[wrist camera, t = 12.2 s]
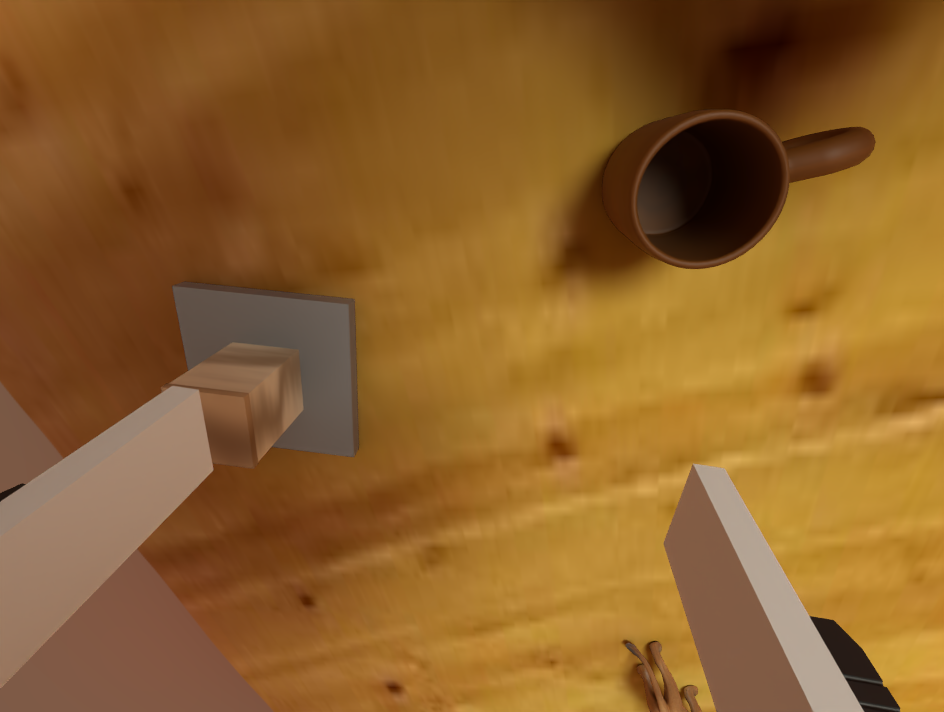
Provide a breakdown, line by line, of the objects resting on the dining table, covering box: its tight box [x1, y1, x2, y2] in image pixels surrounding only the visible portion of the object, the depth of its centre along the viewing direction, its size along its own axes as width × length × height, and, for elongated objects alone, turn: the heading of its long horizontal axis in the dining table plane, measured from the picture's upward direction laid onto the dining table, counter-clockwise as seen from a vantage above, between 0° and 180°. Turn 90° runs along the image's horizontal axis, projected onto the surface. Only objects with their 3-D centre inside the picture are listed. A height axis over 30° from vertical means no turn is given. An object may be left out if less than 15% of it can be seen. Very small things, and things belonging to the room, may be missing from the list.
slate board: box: [172, 282, 359, 457], centre depth 39 cm, size 14×14×1 cm
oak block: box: [161, 342, 304, 469], centre depth 35 cm, size 6×6×8 cm
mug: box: [602, 109, 875, 269], centre depth 26 cm, size 12×8×9 cm, turn 107°
